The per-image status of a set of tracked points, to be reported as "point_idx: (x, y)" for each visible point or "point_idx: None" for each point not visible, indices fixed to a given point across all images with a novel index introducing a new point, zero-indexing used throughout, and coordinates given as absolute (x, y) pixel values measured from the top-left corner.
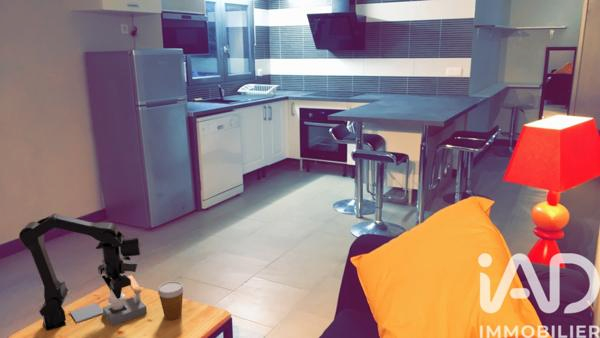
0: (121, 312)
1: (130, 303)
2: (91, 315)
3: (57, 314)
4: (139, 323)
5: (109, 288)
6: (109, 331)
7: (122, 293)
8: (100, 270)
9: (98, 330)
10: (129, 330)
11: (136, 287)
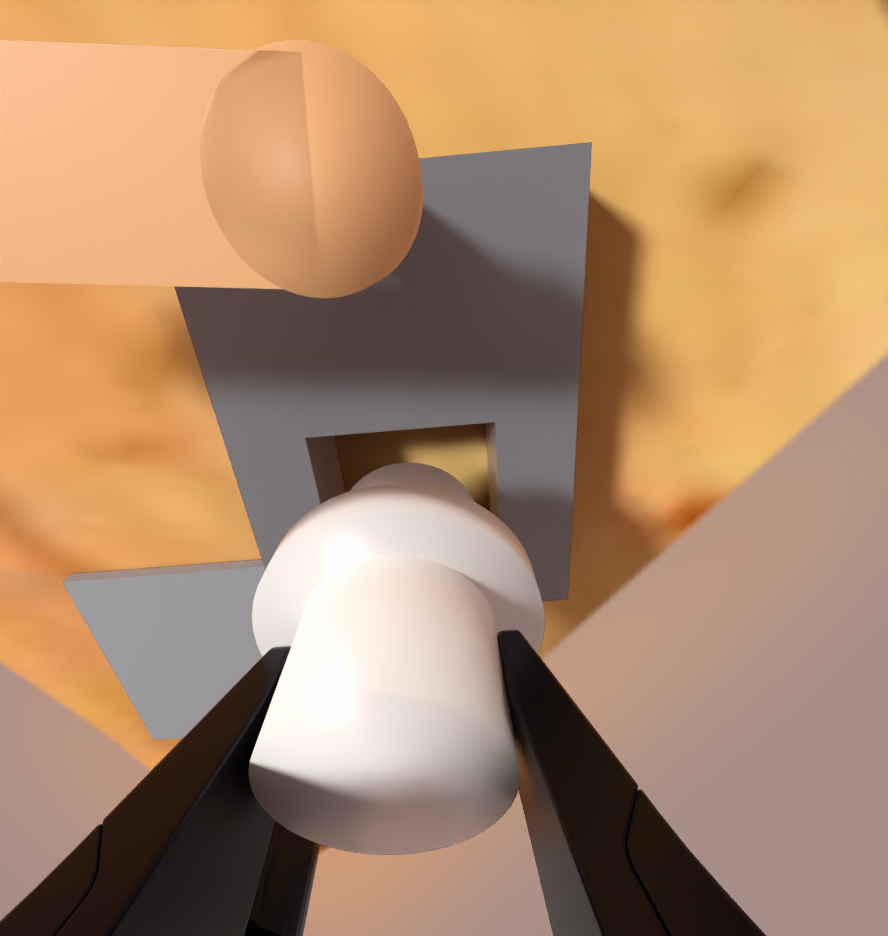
0: (518, 497)
1: (357, 345)
2: None
3: (295, 898)
4: (705, 328)
5: (250, 865)
6: (614, 579)
7: (313, 533)
8: None
9: None
10: (739, 448)
11: (192, 170)
